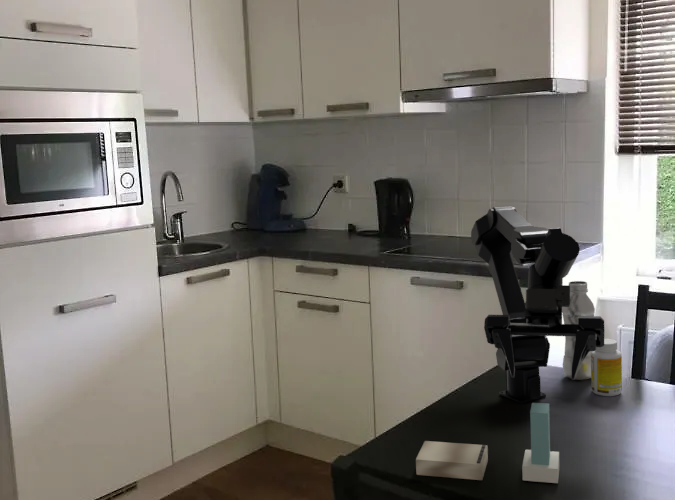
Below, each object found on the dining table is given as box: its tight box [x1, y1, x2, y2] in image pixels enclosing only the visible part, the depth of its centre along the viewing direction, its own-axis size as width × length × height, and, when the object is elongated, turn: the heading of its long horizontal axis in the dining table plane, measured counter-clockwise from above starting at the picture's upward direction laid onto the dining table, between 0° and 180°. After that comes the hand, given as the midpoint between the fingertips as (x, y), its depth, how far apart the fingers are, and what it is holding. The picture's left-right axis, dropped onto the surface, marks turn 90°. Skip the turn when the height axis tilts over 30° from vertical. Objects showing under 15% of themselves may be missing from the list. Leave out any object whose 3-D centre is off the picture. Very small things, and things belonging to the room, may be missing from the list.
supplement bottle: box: [590, 338, 623, 397], centre depth 143 cm, size 6×6×10 cm
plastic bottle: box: [562, 280, 596, 381], centre depth 151 cm, size 6×7×20 cm
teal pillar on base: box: [521, 402, 560, 484], centre depth 111 cm, size 5×6×10 cm
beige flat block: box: [415, 440, 489, 481], centre depth 116 cm, size 10×7×3 cm
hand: (542, 377), depth 118 cm, fingers open, 9 cm apart
